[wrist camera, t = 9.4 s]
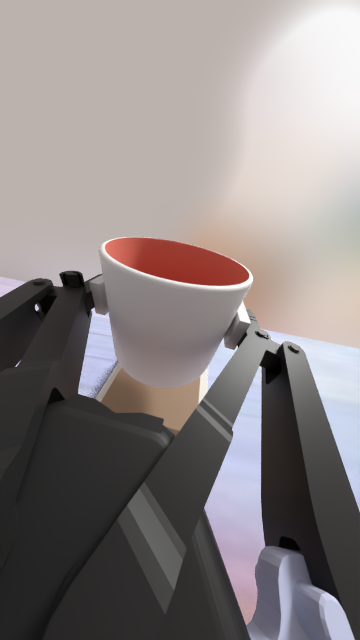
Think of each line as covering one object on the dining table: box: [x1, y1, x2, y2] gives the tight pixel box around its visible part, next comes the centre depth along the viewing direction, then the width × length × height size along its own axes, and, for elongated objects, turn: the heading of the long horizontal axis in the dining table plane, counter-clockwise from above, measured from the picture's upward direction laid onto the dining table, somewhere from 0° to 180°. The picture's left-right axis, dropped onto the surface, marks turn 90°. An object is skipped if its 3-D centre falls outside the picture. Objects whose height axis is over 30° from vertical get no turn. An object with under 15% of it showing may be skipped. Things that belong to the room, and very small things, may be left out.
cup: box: [99, 237, 253, 388], centre depth 13 cm, size 10×10×10 cm
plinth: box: [95, 362, 208, 436], centre depth 21 cm, size 15×15×4 cm
